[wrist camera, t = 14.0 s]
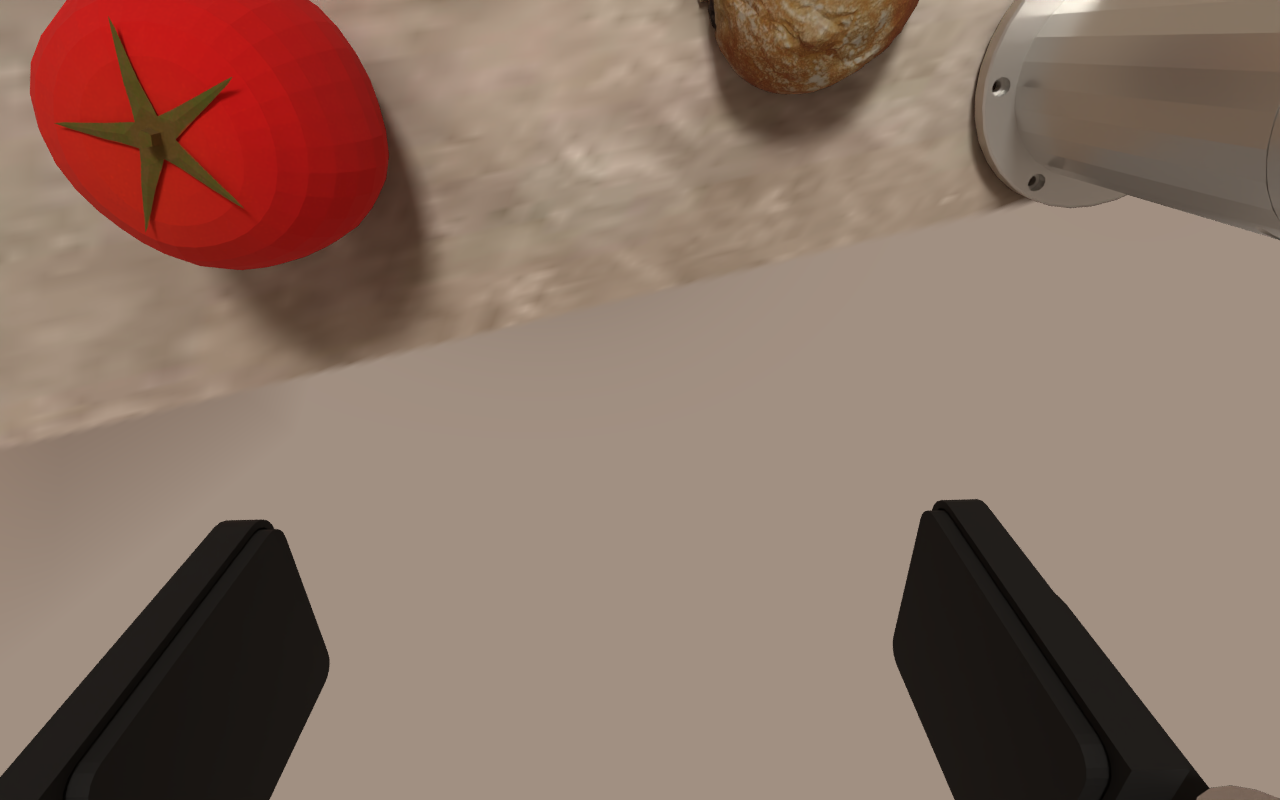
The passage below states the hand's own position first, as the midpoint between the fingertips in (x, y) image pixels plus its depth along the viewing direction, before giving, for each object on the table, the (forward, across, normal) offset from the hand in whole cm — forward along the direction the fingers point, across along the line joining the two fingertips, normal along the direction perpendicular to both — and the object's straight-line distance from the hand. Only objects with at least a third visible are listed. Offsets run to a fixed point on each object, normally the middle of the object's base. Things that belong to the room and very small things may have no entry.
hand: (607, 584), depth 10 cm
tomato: (+29, +16, -5) cm, 34 cm away
